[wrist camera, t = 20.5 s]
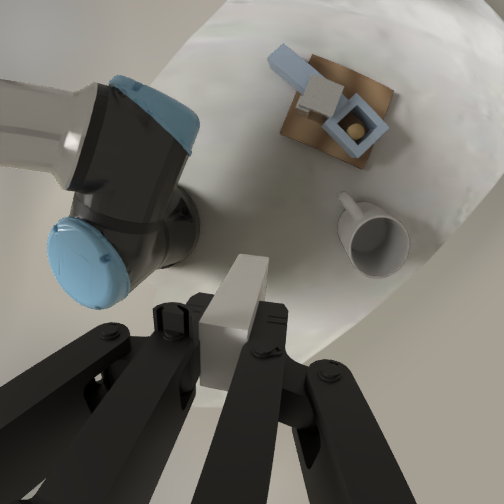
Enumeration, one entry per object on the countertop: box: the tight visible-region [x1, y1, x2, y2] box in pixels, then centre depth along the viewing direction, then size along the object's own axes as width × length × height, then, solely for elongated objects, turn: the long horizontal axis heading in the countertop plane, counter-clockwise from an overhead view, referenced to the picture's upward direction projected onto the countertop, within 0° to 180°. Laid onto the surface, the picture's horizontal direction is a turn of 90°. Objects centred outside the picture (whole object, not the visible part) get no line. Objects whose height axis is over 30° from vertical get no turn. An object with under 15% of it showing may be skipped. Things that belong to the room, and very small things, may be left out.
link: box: [267, 44, 389, 158], centre depth 36 cm, size 18×6×5 cm, turn 46°
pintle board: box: [280, 54, 394, 170], centre depth 36 cm, size 14×14×8 cm
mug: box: [337, 191, 410, 278], centre depth 40 cm, size 12×8×11 cm
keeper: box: [295, 74, 344, 119], centre depth 35 cm, size 5×5×7 cm
